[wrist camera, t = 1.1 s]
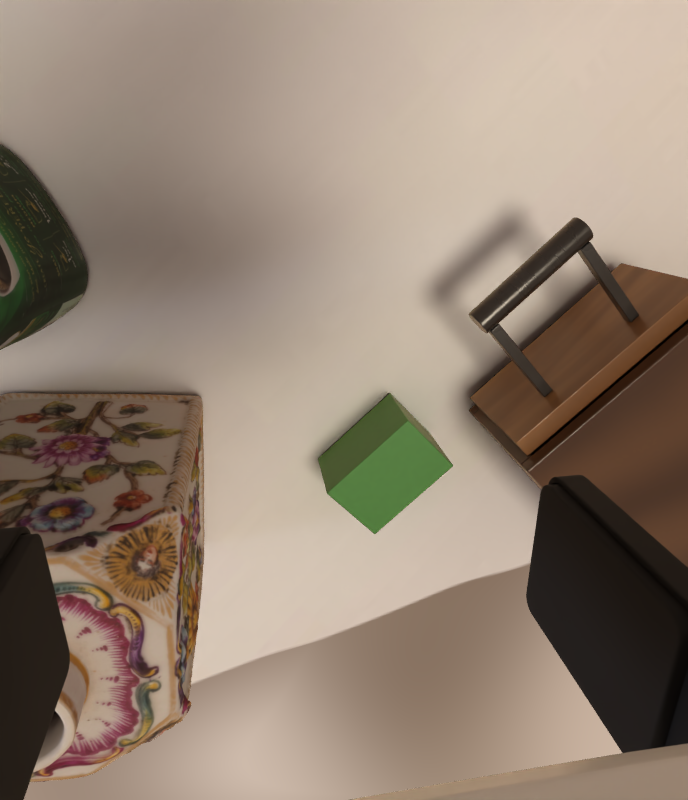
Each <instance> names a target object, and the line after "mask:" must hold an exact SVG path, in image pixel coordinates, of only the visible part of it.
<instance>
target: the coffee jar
mask: <svg viewBox="0 0 688 800" xmlns="http://www.w3.org/2000/svg"><path fill="white" fill-rule="evenodd" d="M87 278H88V274H87V267H86V263H85V260H84V257H83V255H82V253H81V251H80V248H79V246H78V244H77V242H76V240H75V239H74V237H73V235H72V232H71V231H70V229H69V227H68V226H67V224H66V222H65V220H64V219H63V217H62V216H61V214H60V213H59V211H58V209H57V208H56V206H55V205H54V203H53V202H52V200H51V199H50V197H49V196H48V194H47V193H46V191H45V190H44V188H43V187H42V186H41V185H40V183H39V182H38V181H37V180H36V178H35V177H34V176H33V174H32V173H31V172H30V171H29V170H28V168H27V167H26V166H25V165H24V164H23V163H22V161H21V160H20V159H19V158H18V157H17V156H16V155H14V154H13V153H12V152H11V151H10V150H8V149H7V148H5V147H4V146H2V145H0V350H1V349H3V348H5V347H7V346H9V345H11V344H13V343H15V342H18V341H20V340H22V339H24V338H26V337H28V336H30V335H32V334H34V333H36V332H38V331H39V330H41V329H43V328H45V327H46V326H48V325H50V324H52V323H53V322H55V321H56V320H58V319H59V318H60V317H62V316H63V315H65V314H66V313H67V312H68V311H70V310H71V309H72V308H73V307H74V306H75V305H76V304H77V303H78V302H79V301H80V299H81V298H82V296H83V294H84V292H85V290H86V287H87Z"/></svg>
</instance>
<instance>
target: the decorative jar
mask: <svg viewBox="0 0 688 800" xmlns="http://www.w3.org/2000/svg"><path fill="white" fill-rule="evenodd" d="M203 469H204V455H203V404H202V400H201V398H200V397H199V396H192V395H186V396H183V395H159V394H42V393H35V394H34V393H7V394H4V395H1V396H0V528H11V527H22V526H25V527H27V528H28V529H29V531H30V532H31V534H39V535H40V536H41V538H42V541H43V545H44V549H45V553H46V557H47V561H48V565H49V569H50V573H51V577H52V581H53V586H54V590H55V594H56V598H57V602H58V606H59V610H60V614H61V618H62V622H63V626H64V630H65V634H66V638H67V642H68V647H69V652H70V665H69V671H68V674H67V677H66V680H65V683H64V686H63V689H62V691H61V694H60V697H59V700H58V703H57V706H56V708H55V711H54V714H53V717H52V720H51V723H50V725H49V728H48V731H47V734H46V737H45V740H44V742H43V745H42V748H41V751H40V754H39V757H38V759H37V762H36V765H35V768H34V771H33V774H32V776H31V779H30V782H41V781H49V780H63V779H71V778H79V777H84V776H88V775H90V774H93V773H95V772H97V771H99V770H100V769H102V768H104V767H105V766H107V765H108V764H110V763H112V762H113V761H114V760H116V759H118V758H119V757H121V756H122V755H124V754H127V753H129V752H131V751H132V750H133V749H135V748H136V747H137V746H139V745H141V744H143V743H146V742H150V741H152V740H153V739H155V738H156V737H158V736H160V735H161V734H162V733H163V732H164V731H165V730H168V729H170V728H172V727H173V726H174V725H175V724H176V723H179V722H181V721H182V720H183V718H184V717H185V716H186V714H187V713H188V711H189V709H190V707H191V702H190V701H188V698H189V691H190V687H191V677H192V668H193V659H194V652H195V645H196V634H197V630H198V618H199V609H200V599H201V590H202V576H203V564H204V495H203V493H204V470H203Z"/></svg>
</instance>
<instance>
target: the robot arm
mask: <svg viewBox="0 0 688 800" xmlns="http://www.w3.org/2000/svg"><path fill="white" fill-rule="evenodd" d="M526 597H527V603H528V607H529V610H530V612H531V613H532V615H533V617H534V618H535V620H536V621H537V622H538V624H539V626H540V627H541V629H542V630H543V632H544V633H545V635H546V636H547V638H548V639H549V641H550V642H551V644H552V645H553V647H554V649H555V650H556V652H557V653H558V655H559V656H560V658H561V659H562V661H563V662H564V664H565V665H566V667H567V669H568V670H569V672H570V673H571V675H572V676H573V678H574V679H575V681H576V682H577V684H578V685H579V687H580V688H581V690H582V691H583V693H584V695H585V696H586V698H587V699H588V700H589V702H590V704H591V705H592V707H593V708H594V710H595V711H596V713H597V714H598V716H599V717H600V719H601V721H602V722H603V724H604V725H605V727H606V728H607V730H608V731H609V733H610V734H611V736H612V737H613V739H614V741H615V742H616V743H617V745H618V747H619V748H620V750H621V751H622V753H621V754H615V755H609V756H603V757H597V758H591V759H585V760H579V761H573V762H567V763H561V764H555V765H549V766H544V767H537V768H531V769H526V770H519V771H513V772H507V773H501V774H495V775H490V776H483V777H477V778H472V779H466V780H460V781H454V782H448V783H443V784H437V785H431V786H426V787H419V788H414V789H409V790H402V791H396V792H391V793H385V794H379V795H373V796H368V797H362V798H356V799H350V800H688V567H687V566H685V565H684V564H683V563H682V562H681V561H680V560H679V559H678V558H676V557H675V556H674V555H673V554H672V553H671V552H670V551H669V550H667V549H666V548H665V547H664V546H663V545H662V544H661V543H659V542H658V541H657V540H656V539H655V538H654V537H653V536H652V535H650V534H649V533H648V532H647V531H646V530H645V529H644V528H643V527H641V526H640V525H639V524H638V523H637V522H636V521H635V520H634V519H632V518H631V517H630V516H629V515H628V514H627V513H626V512H625V511H623V510H622V509H621V508H620V507H619V506H618V505H617V504H616V503H614V502H613V501H612V500H611V499H610V498H609V497H608V496H607V495H605V494H604V493H603V492H602V491H601V490H600V489H599V488H598V487H596V486H595V485H594V484H593V483H592V482H591V481H590V480H589V479H587V478H586V477H585V476H583V475H570V476H560V477H553V478H551V480H550V481H549V483H548V485H545V486H543V488H542V490H541V494H540V501H539V508H538V515H537V522H536V529H535V536H534V543H533V550H532V557H531V565H530V572H529V579H528V586H527V594H526ZM69 665H70V652H69V647H68V642H67V638H66V634H65V630H64V626H63V622H62V618H61V614H60V610H59V606H58V602H57V598H56V594H55V590H54V586H53V581H52V577H51V573H50V569H49V565H48V561H47V557H46V553H45V549H44V545H43V541H42V538H41V536H40V535H39V534H31V532H30V531H29V529H28V528H27V527H25V526H22V527H11V528H0V800H23V799H24V796H25V793H26V790H27V788H28V785H29V782H30V779H31V776H32V774H33V771H34V768H35V765H36V762H37V759H38V757H39V754H40V751H41V748H42V745H43V742H44V740H45V737H46V734H47V731H48V728H49V725H50V723H51V720H52V717H53V714H54V711H55V708H56V706H57V703H58V700H59V697H60V694H61V691H62V689H63V686H64V683H65V680H66V677H67V674H68V671H69Z"/></svg>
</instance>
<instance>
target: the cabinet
mask: <svg viewBox="0 0 688 800" xmlns="http://www.w3.org/2000/svg"><path fill="white" fill-rule="evenodd" d="M469 412H470V413H471V414H472V415H473V416H474V417H475V418H476V419H477V420H478V421H479V422H480V424H481V425H482V426H483V427H484V428H485V429H486V430H487V431H488V432H489V433H490V434H491V435H492V437H493V438H494V439H495V440H496V441H497V442H498V443H499V444H500V445H501V446H502V447H503V449H504V450H505V451H506V452H507V453H508V454H509V455H510V456H511V457H512V458H513V459H514V461H515V462H516V463H517V464H518V465H519V466H520V467H521V468H522V469H523V470H524V471H525V472H526V474H527V475H528V476H529V477H530V478H531V479H532V480H533V481H534V482H535V483H536V484H537V486H538V487H539V488H540V489H541V490H542V488H543V486H545V485H548V483H549V481H550V480H551V478H553V477H560V476H570V475H583V476H585V477H586V478H587V479H589V480H590V481H591V482H592V483H593V484H594V485H595V486H596V487H598V488H599V489H600V490H601V491H602V492H603V493H604V494H605V495H607V496H608V497H609V498H610V499H611V500H612V501H613V502H614V503H616V504H617V505H618V506H619V507H620V508H621V509H622V510H623V511H625V512H626V513H627V514H628V515H629V516H630V517H631V518H632V519H634V520H635V521H636V522H637V523H638V524H639V525H640V526H641V527H643V528H644V529H645V530H646V531H647V532H648V533H649V534H650V535H652V536H653V537H654V538H655V539H656V540H657V541H658V542H659V543H661V544H662V545H663V546H664V547H665V548H666V549H667V550H669V551H670V552H671V553H672V554H673V555H674V556H675V557H676V558H678V559H679V560H680V561H681V562H682V563H683V564H684V565H685V566H687V567H688V323H687V324H686V325H685V326H683V327H682V328H681V329H680V330H679V331H678V332H676V333H675V334H674V335H673V336H672V337H670V338H669V339H668V340H667V341H666V342H665V343H663V344H662V345H661V346H660V347H659V348H658V349H656V350H655V351H654V352H653V353H652V354H651V355H649V356H648V357H647V358H646V359H645V360H644V361H642V362H641V363H640V364H639V365H638V366H636V367H635V368H634V369H633V370H632V371H631V372H629V373H628V374H627V375H626V376H625V377H624V378H622V379H621V380H620V381H619V382H618V383H617V384H615V385H614V386H613V387H612V388H611V389H610V390H608V391H607V392H606V393H605V394H604V395H602V396H601V397H600V398H599V399H598V400H597V401H595V402H594V403H593V404H592V405H591V406H590V407H588V408H587V409H586V410H585V411H584V412H583V413H581V414H580V415H579V416H578V417H577V418H576V419H574V420H573V421H572V422H571V423H570V424H568V425H567V426H566V427H565V428H564V429H563V430H561V431H560V432H559V433H558V434H557V435H556V436H554V437H553V438H552V439H551V440H550V441H549V442H547V443H546V444H545V445H544V446H543V447H542V448H540V449H539V450H538V451H537V452H536V453H533V452H532V453H531V454H530V455H528V456H527V455H526V454H525V453H524V452H523V451H522V450H521V449H520V448H519V447H518V446H517V445H516V444H515V443H514V442H513V441H512V440H511V439H510V438H509V437H508V436H507V435H506V434H505V433H504V432H503V431H502V430H501V429H500V428H499V427H498V426H497V425H496V424H495V423H494V422H493V421H492V420H490V419H489V418H488V417H487V416H486V415H485V414H484V413H483V412H482V411H481V410H480V409H479V407H478V406H477V405H476V404H475V405H474V406H473V407H472V408H471V409H470V410H469Z"/></svg>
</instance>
